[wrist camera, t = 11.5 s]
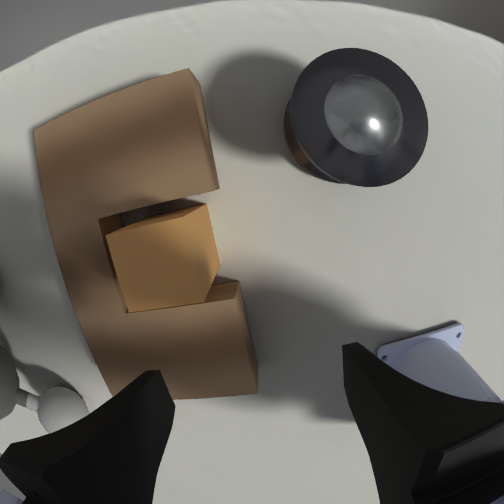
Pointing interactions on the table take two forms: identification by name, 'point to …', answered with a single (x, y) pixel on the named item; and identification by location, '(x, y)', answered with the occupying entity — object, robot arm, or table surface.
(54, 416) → the molecule model
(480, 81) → the table surface
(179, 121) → the notched board
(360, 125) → the bobbin
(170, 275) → the orange rectangular block
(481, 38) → the table surface
